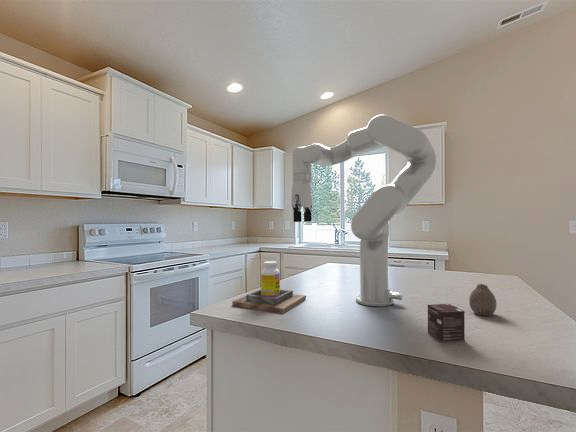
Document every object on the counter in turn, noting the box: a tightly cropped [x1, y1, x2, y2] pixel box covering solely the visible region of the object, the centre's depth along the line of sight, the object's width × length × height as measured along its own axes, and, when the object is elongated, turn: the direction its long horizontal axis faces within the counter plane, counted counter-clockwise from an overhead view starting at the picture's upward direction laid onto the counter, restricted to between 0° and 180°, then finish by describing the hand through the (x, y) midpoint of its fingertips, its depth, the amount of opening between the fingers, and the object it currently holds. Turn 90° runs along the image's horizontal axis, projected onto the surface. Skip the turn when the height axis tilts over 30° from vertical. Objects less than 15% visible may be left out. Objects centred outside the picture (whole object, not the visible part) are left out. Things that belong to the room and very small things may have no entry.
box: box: [427, 303, 466, 344], centre depth 74 cm, size 6×6×7 cm
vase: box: [468, 283, 498, 317], centre depth 90 cm, size 7×7×9 cm
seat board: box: [231, 288, 307, 314], centre depth 106 cm, size 20×17×4 cm
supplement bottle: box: [260, 260, 281, 298], centre depth 106 cm, size 7×7×13 cm
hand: (302, 221), depth 120 cm, fingers open, 9 cm apart
